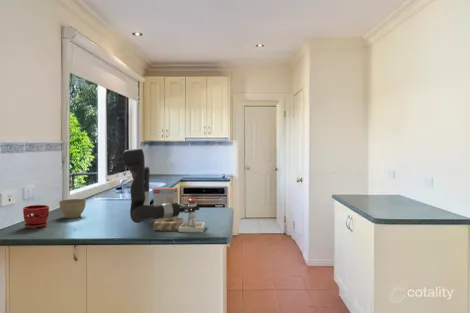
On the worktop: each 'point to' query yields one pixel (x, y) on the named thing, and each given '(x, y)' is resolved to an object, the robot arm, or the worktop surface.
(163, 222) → the socket block
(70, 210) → the planter bowl
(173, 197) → the cracker box
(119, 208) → the worktop surface
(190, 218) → the pin
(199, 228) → the tray
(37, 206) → the plant pot
